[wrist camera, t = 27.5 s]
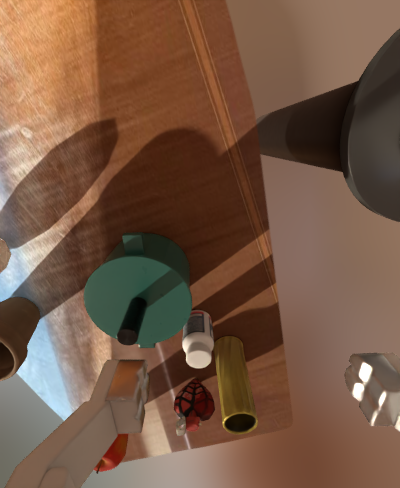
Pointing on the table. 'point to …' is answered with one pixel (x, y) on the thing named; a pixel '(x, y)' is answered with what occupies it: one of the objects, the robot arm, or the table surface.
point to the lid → (138, 299)
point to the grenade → (193, 406)
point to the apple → (113, 454)
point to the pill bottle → (198, 339)
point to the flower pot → (15, 333)
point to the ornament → (4, 255)
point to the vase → (234, 386)
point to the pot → (153, 254)
